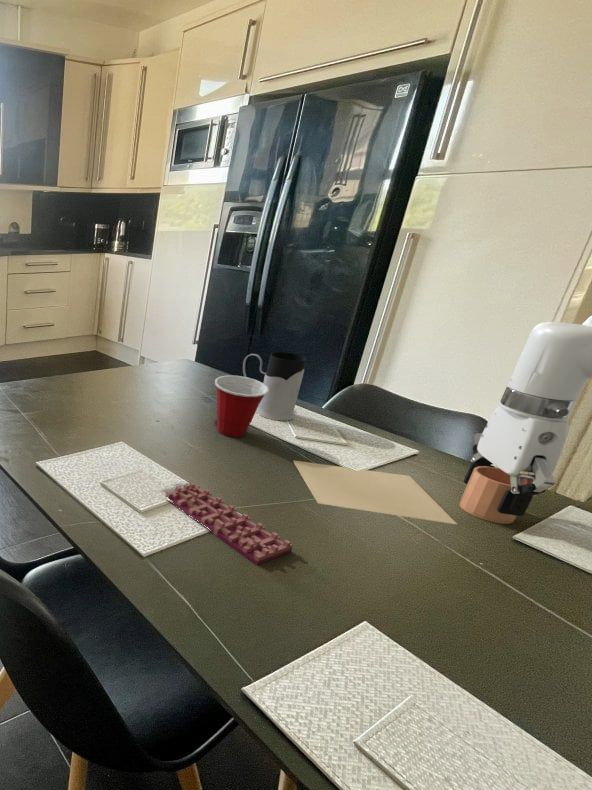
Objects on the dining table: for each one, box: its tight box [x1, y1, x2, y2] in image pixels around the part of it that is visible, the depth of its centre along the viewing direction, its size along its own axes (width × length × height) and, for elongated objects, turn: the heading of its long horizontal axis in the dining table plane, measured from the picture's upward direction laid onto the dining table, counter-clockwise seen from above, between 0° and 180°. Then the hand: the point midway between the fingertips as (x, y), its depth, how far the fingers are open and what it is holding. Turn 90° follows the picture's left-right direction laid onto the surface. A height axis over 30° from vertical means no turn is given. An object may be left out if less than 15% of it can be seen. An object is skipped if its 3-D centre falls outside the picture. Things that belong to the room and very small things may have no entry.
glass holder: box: [242, 351, 307, 422], centre depth 121 cm, size 9×14×15 cm, turn 39°
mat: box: [292, 460, 458, 525], centre depth 87 cm, size 20×20×1 cm
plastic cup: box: [214, 375, 269, 438], centre depth 109 cm, size 11×11×12 cm
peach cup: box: [458, 466, 527, 525], centre depth 81 cm, size 7×7×7 cm
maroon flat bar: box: [165, 482, 294, 566], centre depth 78 cm, size 7×19×2 cm, turn 24°
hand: (491, 498), depth 82 cm, fingers open, 8 cm apart
